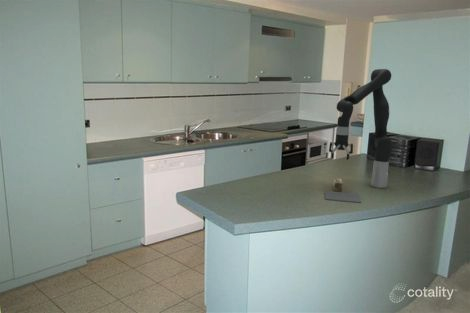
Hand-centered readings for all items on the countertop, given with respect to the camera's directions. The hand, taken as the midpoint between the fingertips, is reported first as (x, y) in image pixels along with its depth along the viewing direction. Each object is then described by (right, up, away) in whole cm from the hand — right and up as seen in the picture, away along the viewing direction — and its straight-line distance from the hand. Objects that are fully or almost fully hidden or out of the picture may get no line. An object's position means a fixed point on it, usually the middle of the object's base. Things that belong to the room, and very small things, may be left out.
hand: (339, 159), depth 252 cm
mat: (-2, -22, -14) cm, 26 cm away
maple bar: (-1, -19, +4) cm, 19 cm away
